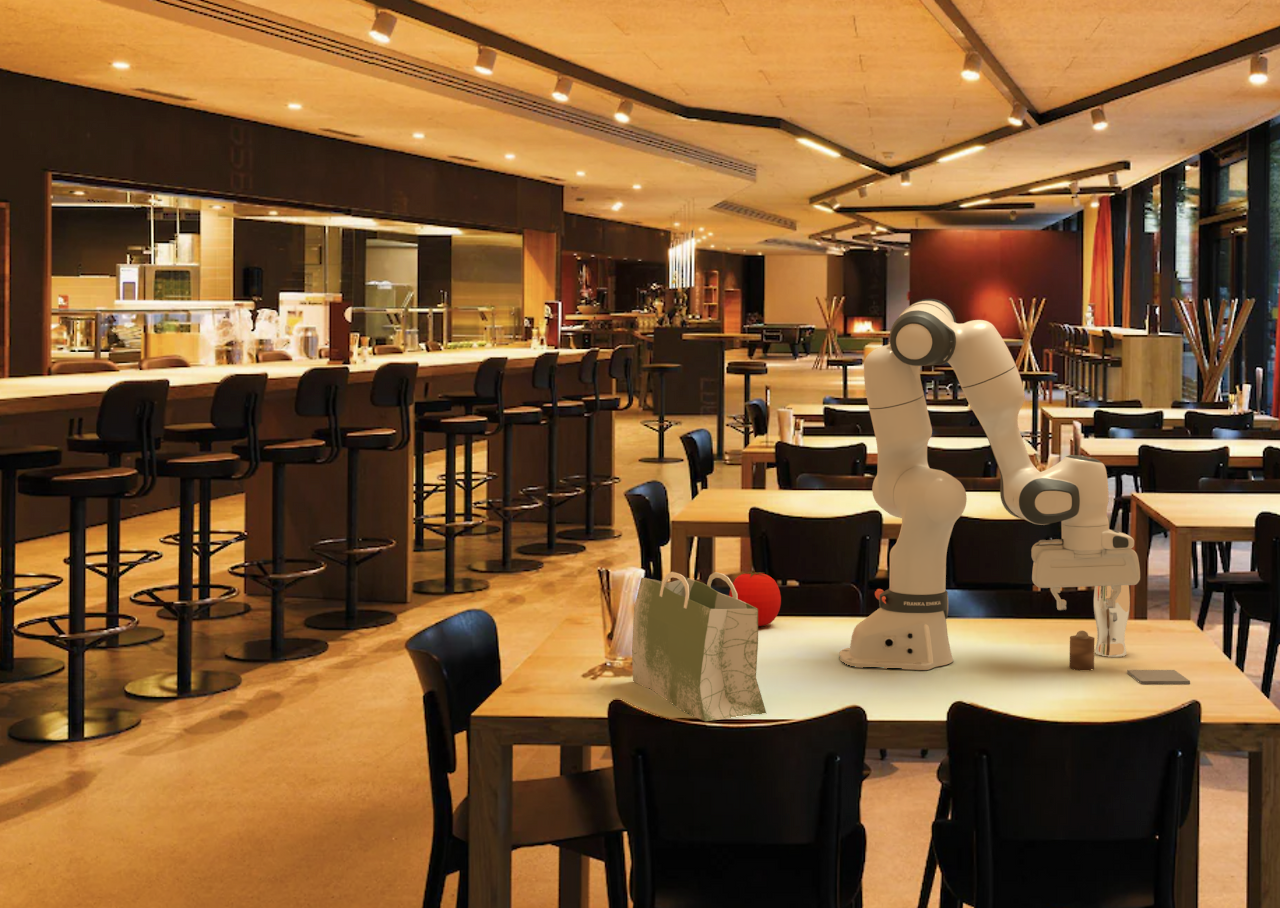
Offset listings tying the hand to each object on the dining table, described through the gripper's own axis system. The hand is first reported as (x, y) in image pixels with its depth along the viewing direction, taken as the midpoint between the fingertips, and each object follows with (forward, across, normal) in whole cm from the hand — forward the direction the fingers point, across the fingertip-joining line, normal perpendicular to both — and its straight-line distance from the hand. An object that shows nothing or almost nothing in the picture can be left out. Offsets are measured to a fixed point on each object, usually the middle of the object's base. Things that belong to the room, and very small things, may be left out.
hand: (1086, 608), depth 294 cm
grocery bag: (+9, -76, -23) cm, 80 cm away
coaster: (+12, +11, -9) cm, 19 cm away
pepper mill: (+12, -1, 0) cm, 12 cm away
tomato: (+10, -63, +40) cm, 76 cm away
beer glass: (+12, +8, +12) cm, 19 cm away
